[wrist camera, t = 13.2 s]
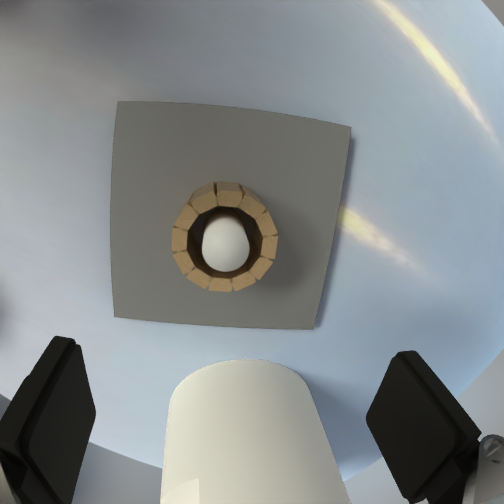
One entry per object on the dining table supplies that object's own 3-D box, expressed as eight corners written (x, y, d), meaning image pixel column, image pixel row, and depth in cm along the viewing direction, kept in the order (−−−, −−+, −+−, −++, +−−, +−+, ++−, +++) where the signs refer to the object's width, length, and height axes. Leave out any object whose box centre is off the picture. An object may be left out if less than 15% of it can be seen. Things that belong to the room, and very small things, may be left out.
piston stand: (122, 103, 23) (90, 91, 16) (344, 127, 26) (386, 125, 19) (118, 309, 29) (96, 355, 22) (309, 321, 32) (332, 367, 25)
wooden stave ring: (182, 178, 24) (175, 186, 20) (271, 186, 25) (283, 196, 21) (177, 261, 27) (170, 287, 22) (260, 267, 28) (269, 294, 23)
